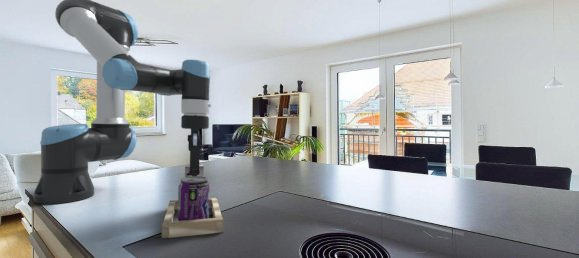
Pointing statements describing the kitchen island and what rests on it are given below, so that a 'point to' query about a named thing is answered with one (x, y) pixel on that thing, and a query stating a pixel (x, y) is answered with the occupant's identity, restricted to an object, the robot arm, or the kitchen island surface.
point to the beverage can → (193, 198)
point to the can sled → (192, 226)
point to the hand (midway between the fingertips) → (194, 194)
